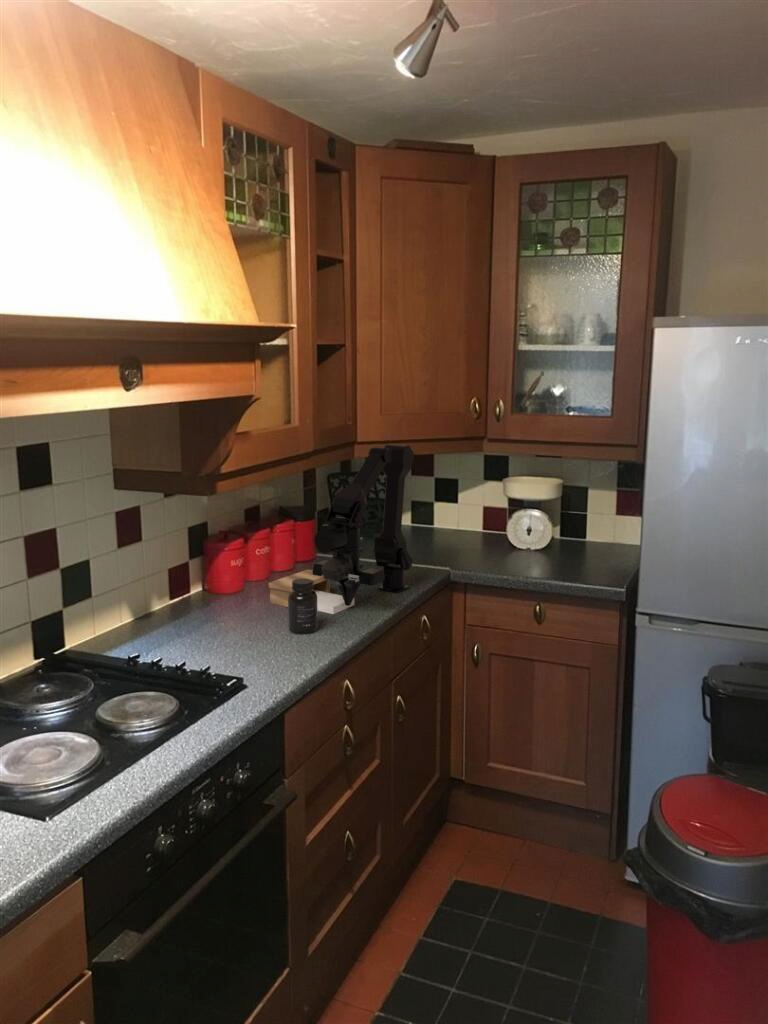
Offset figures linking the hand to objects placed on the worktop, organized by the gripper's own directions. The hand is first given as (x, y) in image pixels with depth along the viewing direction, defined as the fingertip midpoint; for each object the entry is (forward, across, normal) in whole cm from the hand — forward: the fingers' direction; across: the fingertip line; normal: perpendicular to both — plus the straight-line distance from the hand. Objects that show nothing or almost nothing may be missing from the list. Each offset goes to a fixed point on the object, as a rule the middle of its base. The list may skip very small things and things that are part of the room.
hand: (348, 605), depth 219 cm
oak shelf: (+1, -15, 0) cm, 15 cm away
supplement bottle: (+1, 0, -19) cm, 19 cm away
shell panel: (+2, -9, -1) cm, 9 cm away
